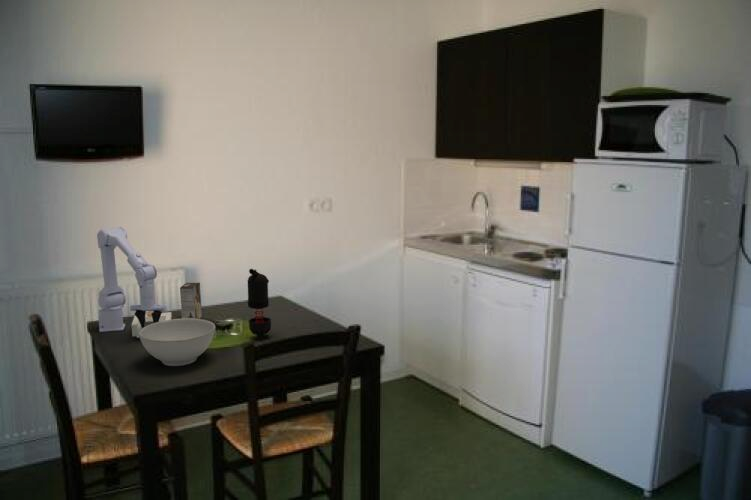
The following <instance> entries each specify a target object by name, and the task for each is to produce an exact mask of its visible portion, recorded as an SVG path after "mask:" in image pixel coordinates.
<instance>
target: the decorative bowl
mask: <svg viewBox="0 0 751 500" xmlns="http://www.w3.org/2000/svg"><path fill="white" fill-rule="evenodd" d="M215 333H216V325H215V323H213V322H212V321H209V320H207V319H201V318H199V319H194V318H182V317H181V318H173V319H171V320H165V321H160V322H156V323H153V324H150V325H147V326H145V327H144V328H142V329H141V330H140V331H139V337H140V338H139V340H140V342H141V344H142V345H143V347H144V348H145V350H146V351H147V352H148V353H149V354H150V355H151V356H152V357H154V358H155V359H157V360H159V361H161V363H162V364H163V365H165V366H169V367H180V366H186V365H190V364H192V363H195V361H197V359H198V357H200V356H201V355H202V354H203V353H204V352H205V351H206V350H207V348H209V346H210V345H211V343H212V341H213V338H214V336H215Z"/></svg>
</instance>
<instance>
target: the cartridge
mask: <svg viewBox="0 0 751 500" xmlns="http://www.w3.org/2000/svg"><path fill="white" fill-rule="evenodd" d="M150 324H153V321H148V322H144V327H145V326H147V325H150ZM141 329H142V328H141V325H140V324H138V327H137V331H136V332H137V336H136V338H137V339H138V338H139V339H140V337H139V331H140V330H141Z"/></svg>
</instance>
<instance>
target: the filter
mask: <svg viewBox="0 0 751 500" xmlns="http://www.w3.org/2000/svg"><path fill="white" fill-rule="evenodd" d="M248 272H249V274H250V276H248V277H247V278H248V279H247V306H248V308H250V309H254V310H255V311H254V314H255V316H254V317H252V318H250V319H249V320H248V327H249V330H250V333H252V334H253V335H256V337H257V338H258V339H263V338H264V337H265V336H264V335H266V334H267V333H269V332H270V330H271V329H272V319H271V318H270V317H266V316H264V315H263V314H264V313H265V311H263V309H266V308H268V307H269V306H270V304H269V299H270V298H269V282H270V280H269V279H268V277H267V276H266V275H264V274H262V273H260V272H258V271H257V269H253V268H249V270H248ZM257 310H258V311H257ZM260 310H261V311H260Z"/></svg>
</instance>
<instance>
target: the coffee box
mask: <svg viewBox="0 0 751 500" xmlns="http://www.w3.org/2000/svg"><path fill="white" fill-rule="evenodd" d="M179 292H180V308H181V319H182V318H194V319H198V318H199V319H201V318H202V316H203V314H202V299H201V297H202V295H201V282H186V283H183V284H182V286H180V287H179Z"/></svg>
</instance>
